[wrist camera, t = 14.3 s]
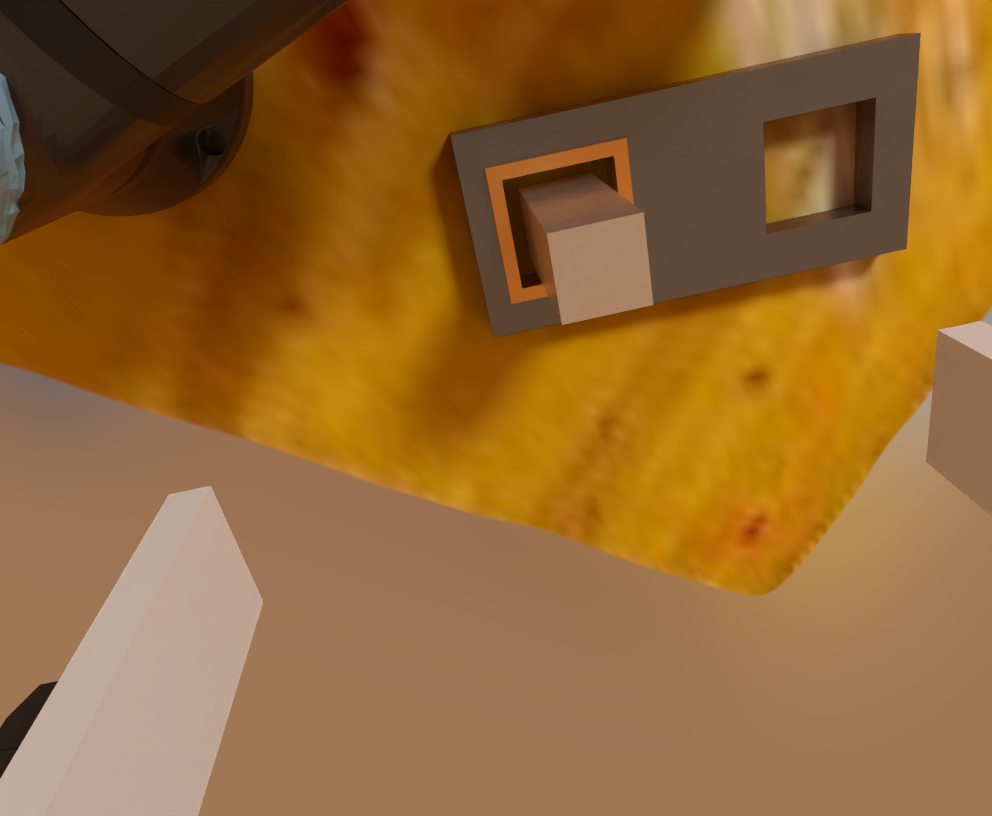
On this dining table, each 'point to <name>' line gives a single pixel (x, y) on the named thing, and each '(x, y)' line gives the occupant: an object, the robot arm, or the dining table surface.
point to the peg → (587, 247)
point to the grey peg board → (705, 173)
